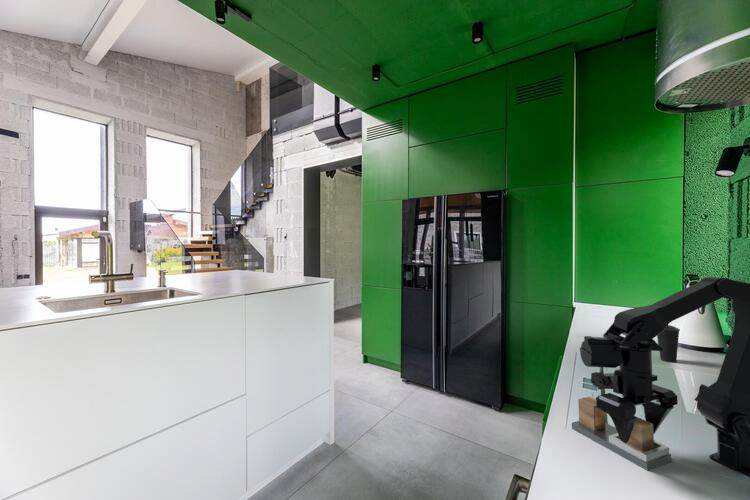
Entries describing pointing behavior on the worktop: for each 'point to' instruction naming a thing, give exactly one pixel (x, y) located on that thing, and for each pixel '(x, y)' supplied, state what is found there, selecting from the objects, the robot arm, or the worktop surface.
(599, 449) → the worktop surface
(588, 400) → the brown wooden block
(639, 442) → the tan wooden block
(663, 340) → the drinking cup
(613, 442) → the grey base plate
